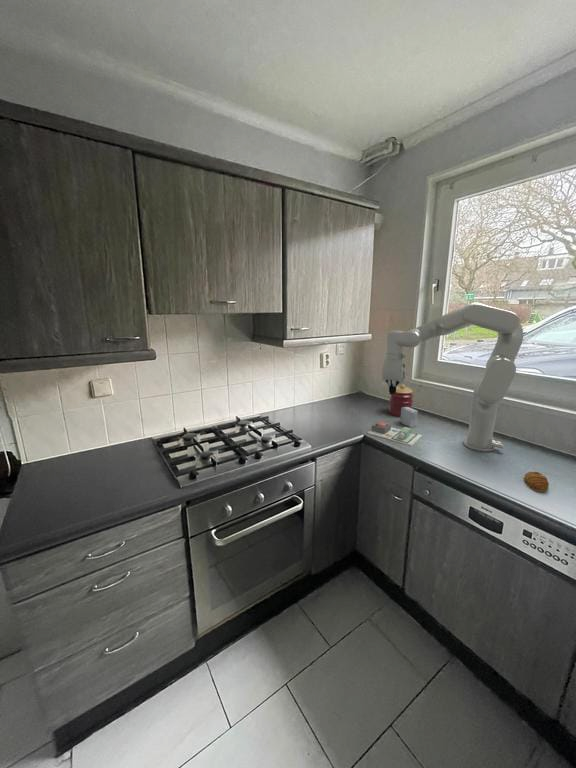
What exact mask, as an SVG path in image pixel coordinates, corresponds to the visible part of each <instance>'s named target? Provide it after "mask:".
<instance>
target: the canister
mask: <svg viewBox="0 0 576 768" xmlns="http://www.w3.org/2000/svg"><path fill="white" fill-rule="evenodd" d="M399 385H400V386H396V393H395V394H390V393H389V395H390V397H389V406H388V412H389V414H390V415H392V416H395V417H400V418H401V408H403V407H409V408H412V409H413V404H414V399H413V397H414V396H415V395H414V393H413V389H411V388H410V387H407V386H406V385H405V384H404V383H402V384H399Z"/></svg>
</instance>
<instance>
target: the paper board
mask: <svg viewBox="0 0 576 768" xmlns="http://www.w3.org/2000/svg"><path fill="white" fill-rule="evenodd" d="M378 422H379V421H376V422H375V423H373V424H372V425H371V430H369V431H367V433H368V434H367V435H370V436H374V437H378V438H381V439H386V440H387V441H388V440H389V441H392V442H396V443H399V444H402V445H407V446H410V447H413V445H414V444H416V442H418V441H419V440H420V439H421V438H422V437H423V435H422V434H418V433H414V432H411V435H410V436H409V437H408V438H407V439H400V438H399V437H398V434H399V431H400V430H401V429H399V428H395V427H392V424H389V423H386V427H385V428H383V427H379V426H377V423H378Z"/></svg>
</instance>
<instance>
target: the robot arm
mask: <svg viewBox="0 0 576 768" xmlns="http://www.w3.org/2000/svg"><path fill="white" fill-rule="evenodd" d="M520 321H521V320H520V317H519V315H518V314H517V313H515V312H513V311H510V310H506V309H502V308H498V307H494V306H490V305H486V304H483V303H480V302H471V303H468V304H467V305H463V306H462V307H460V308H457V309H455V310H452V311H451V312H448V313H445V314H443V315H440V316H439V317H436V318H435V319H434V320H431V321H429V322H426V323H424V324H422V325H419V326H417V327H415V328H413V329H409V330H408V331H402V330H389V331H388V332H387V333H386V334H387V336H386V352H385V353H386V355H385V359H384V362H383V365H382V372H381V373H382V374H381V375H382V378H381V380H382V382H385V383H386V384H387V385H388V392H389V395H390V394H395V393H396V387H398V385H402V384H405V379H406V361H405V359H406V358H407V357H406V356H407V355H405V354H404V348H405V347H406V348H411V349H412V348H416V347H418V346H419V345H420V344H421V343H424V342H426V341H429V340H430V339H434V338H436V337H441V336H442V337H443V336H447V335H450V334H452V333H455V332H457V331H459V330H462V329H464V328H468V327H469V326H475V327H479V328H482V329H486V330H490V331H493V332H496V333H497V340H496V343H495V345H494V347H493V349H492V352H491V354H490V356H489V357H488V360H487V362H486V364H485V369H486V372H485V374H484V376H483V377H482V378H480V379H478V380H477V381H476V382H475V384H474V388H473V397H472V405H471V412H470V418H469V424H468V425H469V426H468V431H467V437H466V438H464V439H463V440H462V444H463V445H464V446H465V447H467V448H468V449H471V450H473V451H479V452H483V453H484V452H485V453H486V452H487V453H489V452H493V451H494V450H496V449H495V448H498V449H504V444H503V443H502V442H501V441H496V440H495V436H494V432H495V431H494V430H495V423H496V420H497V414H498V407H499V403H500V402H502V401H503V399H504V398H505V396H506V394H507V392H508V390H509V388H510V387H511V384H512V382H513V380H514V379H515V376H516V372H517V366H516V364H515V360H516V359H517V356H518V353H519V351H520V349H521V347H522V343H523V342H524V330H523V326H522V324H521V322H520ZM493 436H494V437H493Z"/></svg>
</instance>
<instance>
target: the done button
mask: <svg viewBox="0 0 576 768" xmlns="http://www.w3.org/2000/svg"><path fill="white" fill-rule="evenodd" d="M377 422H378V423H377ZM377 422H376V423H377V426H379V427H383V428H385V427H386V424H387V423H386V422H383V421H382V422H381V421H377Z"/></svg>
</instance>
